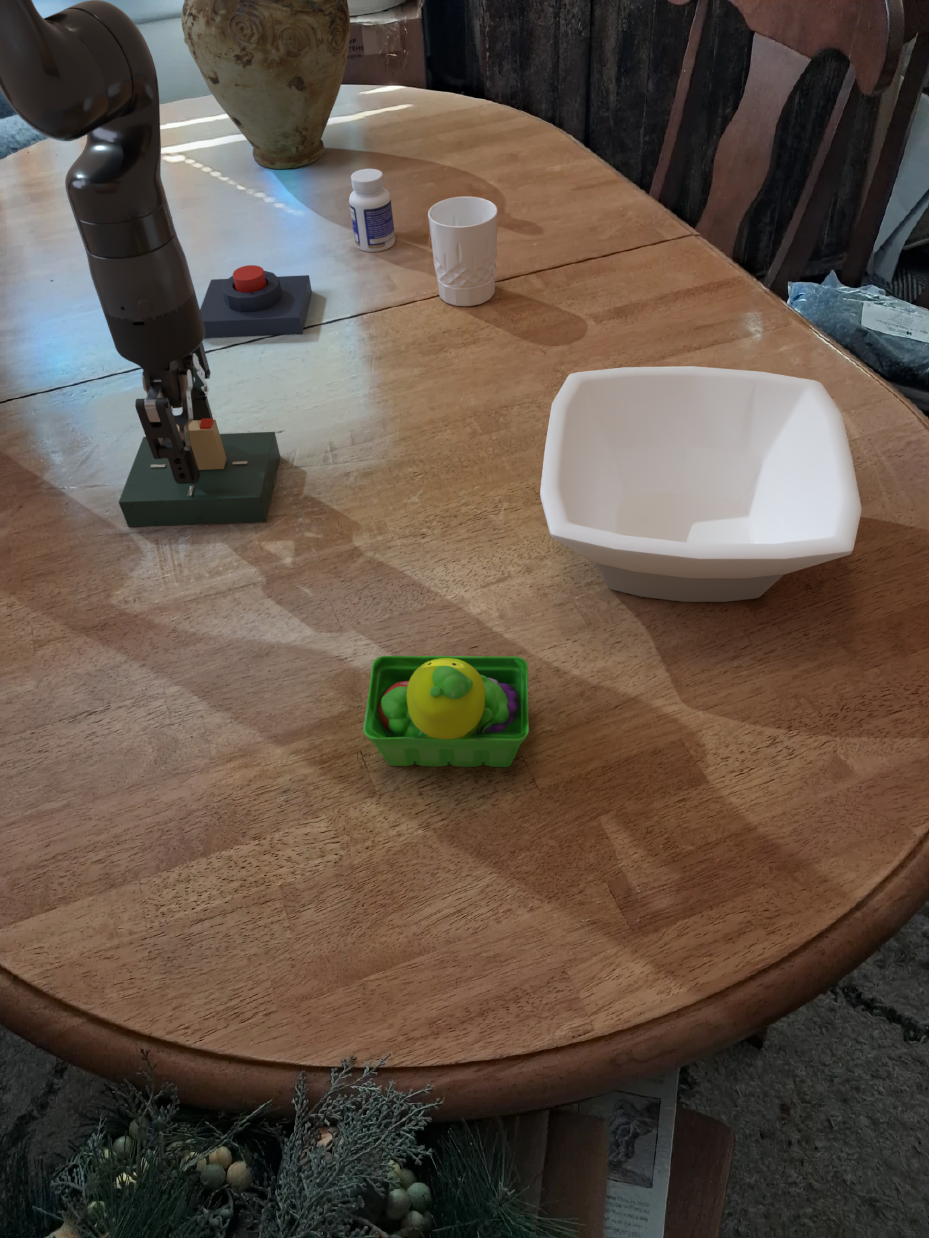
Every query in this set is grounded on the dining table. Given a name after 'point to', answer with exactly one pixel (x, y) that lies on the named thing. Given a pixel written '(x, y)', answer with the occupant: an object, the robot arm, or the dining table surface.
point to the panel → (204, 486)
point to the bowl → (698, 479)
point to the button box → (256, 307)
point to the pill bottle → (371, 211)
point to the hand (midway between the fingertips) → (196, 455)
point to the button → (249, 279)
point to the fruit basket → (448, 709)
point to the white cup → (464, 249)
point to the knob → (206, 444)
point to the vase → (272, 69)
